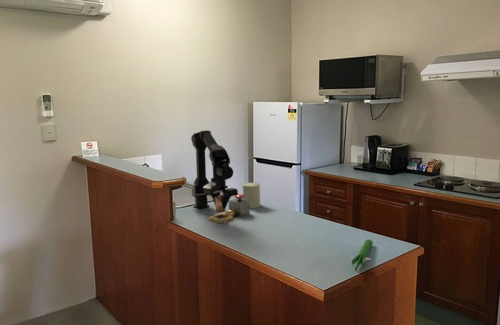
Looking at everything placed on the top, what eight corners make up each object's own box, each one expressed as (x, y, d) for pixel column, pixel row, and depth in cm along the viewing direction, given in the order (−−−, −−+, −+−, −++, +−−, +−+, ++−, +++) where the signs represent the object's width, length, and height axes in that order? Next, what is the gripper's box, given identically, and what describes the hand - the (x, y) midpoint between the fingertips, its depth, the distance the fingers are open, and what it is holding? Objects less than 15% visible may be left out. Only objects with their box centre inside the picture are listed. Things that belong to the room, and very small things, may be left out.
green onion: (363, 247, 154) (348, 274, 127) (363, 238, 154) (348, 264, 127) (376, 248, 152) (364, 276, 125) (377, 240, 152) (364, 266, 125)
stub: (212, 211, 192) (212, 197, 190) (220, 209, 195) (220, 195, 194) (220, 213, 188) (219, 198, 187) (228, 210, 192) (227, 196, 191)
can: (260, 207, 212) (259, 185, 210) (242, 208, 212) (242, 185, 210) (260, 203, 221) (259, 181, 219) (243, 203, 221) (242, 182, 219)
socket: (209, 220, 192) (208, 217, 192) (221, 216, 198) (221, 213, 198) (220, 223, 187) (220, 220, 186) (233, 219, 192) (233, 216, 192)
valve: (221, 216, 198) (220, 198, 197) (238, 211, 207) (238, 193, 205) (233, 219, 193) (232, 200, 191) (250, 213, 201) (249, 195, 200)
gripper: (192, 176, 190) (194, 208, 192) (220, 180, 177) (221, 215, 179) (210, 172, 198) (212, 203, 200) (238, 176, 185) (239, 209, 187)
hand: (220, 208), depth 191 cm, fingers closed on stub, 4 cm apart
